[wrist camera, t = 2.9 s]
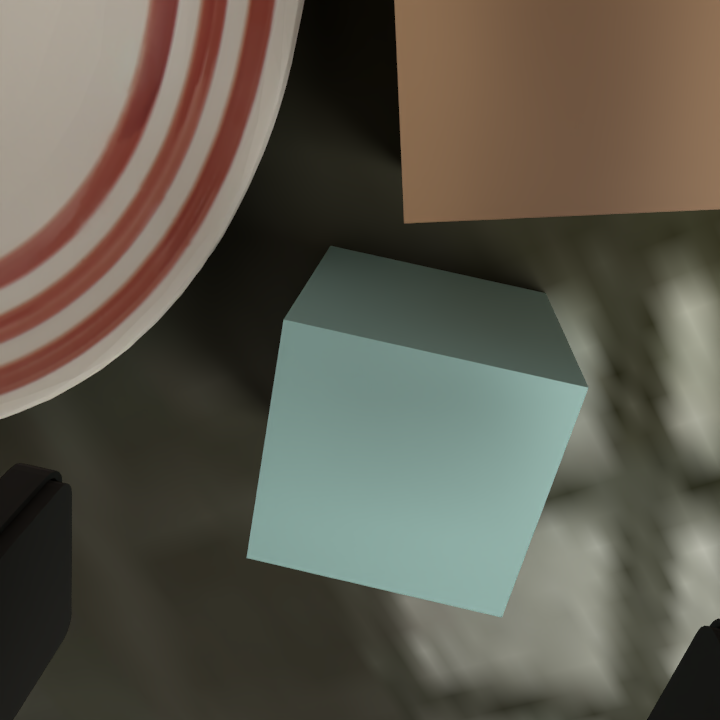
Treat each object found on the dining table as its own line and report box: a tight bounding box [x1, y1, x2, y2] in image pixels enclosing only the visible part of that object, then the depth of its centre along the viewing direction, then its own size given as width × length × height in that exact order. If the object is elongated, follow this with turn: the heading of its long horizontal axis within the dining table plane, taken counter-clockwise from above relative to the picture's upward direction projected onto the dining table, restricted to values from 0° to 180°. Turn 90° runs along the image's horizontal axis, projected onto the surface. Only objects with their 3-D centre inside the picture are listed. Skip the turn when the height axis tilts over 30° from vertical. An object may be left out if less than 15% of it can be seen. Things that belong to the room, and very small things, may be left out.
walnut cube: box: [394, 0, 720, 223], centre depth 13 cm, size 6×6×6 cm
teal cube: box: [247, 246, 588, 617], centre depth 17 cm, size 6×6×6 cm
